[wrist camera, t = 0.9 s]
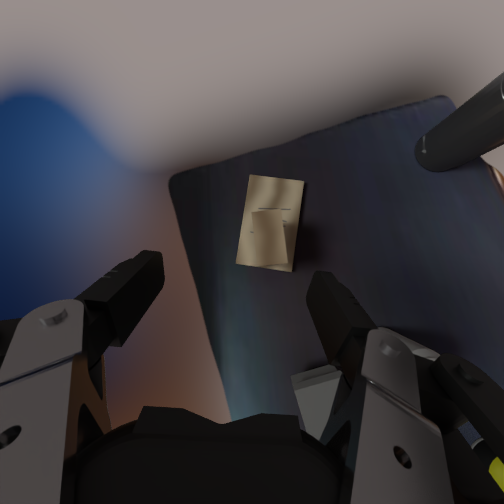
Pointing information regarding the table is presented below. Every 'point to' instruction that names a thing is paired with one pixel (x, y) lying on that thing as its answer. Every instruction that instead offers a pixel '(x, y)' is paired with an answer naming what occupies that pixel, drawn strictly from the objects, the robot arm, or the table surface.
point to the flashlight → (489, 460)
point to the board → (268, 198)
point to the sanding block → (269, 237)
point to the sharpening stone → (316, 396)
